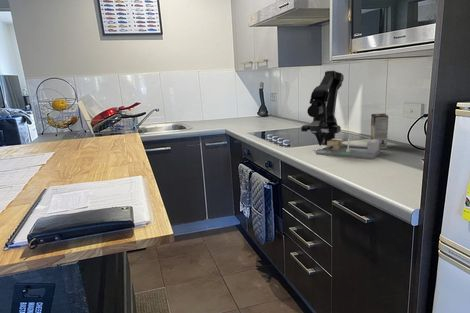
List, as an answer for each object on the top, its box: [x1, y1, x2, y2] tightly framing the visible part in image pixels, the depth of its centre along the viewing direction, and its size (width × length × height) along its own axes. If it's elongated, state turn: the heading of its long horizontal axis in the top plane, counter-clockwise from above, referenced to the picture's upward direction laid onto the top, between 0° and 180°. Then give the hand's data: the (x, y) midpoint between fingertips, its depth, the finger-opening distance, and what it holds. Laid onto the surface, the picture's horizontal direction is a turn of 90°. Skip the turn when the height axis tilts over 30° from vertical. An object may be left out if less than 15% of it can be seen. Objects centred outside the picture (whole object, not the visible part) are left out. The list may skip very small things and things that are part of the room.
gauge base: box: [315, 139, 382, 160], centre depth 157 cm, size 15×26×6 cm, turn 53°
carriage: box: [326, 138, 343, 150], centre depth 161 cm, size 12×5×4 cm, turn 143°
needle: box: [346, 137, 350, 152], centre depth 151 cm, size 2×1×6 cm, turn 143°
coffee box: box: [370, 112, 389, 150], centre depth 164 cm, size 9×6×16 cm
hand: (320, 145), depth 168 cm, fingers closed
